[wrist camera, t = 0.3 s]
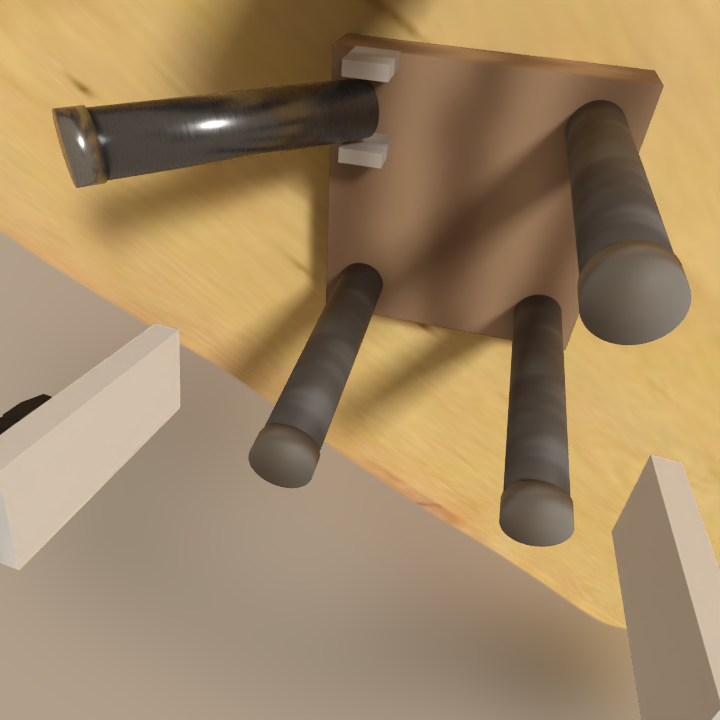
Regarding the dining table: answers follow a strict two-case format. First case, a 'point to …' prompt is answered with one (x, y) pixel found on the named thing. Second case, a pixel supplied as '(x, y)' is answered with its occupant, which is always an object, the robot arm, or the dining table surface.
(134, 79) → the dining table surface
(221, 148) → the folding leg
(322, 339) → the stool
